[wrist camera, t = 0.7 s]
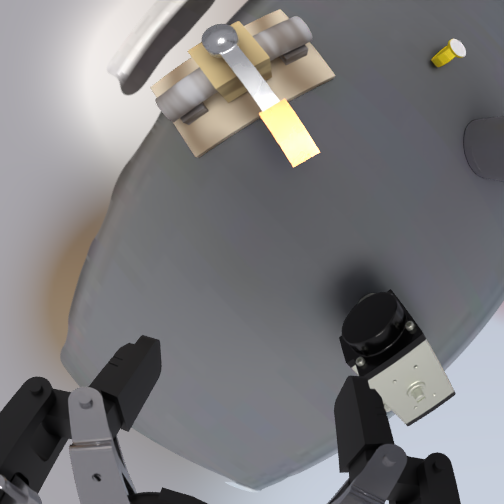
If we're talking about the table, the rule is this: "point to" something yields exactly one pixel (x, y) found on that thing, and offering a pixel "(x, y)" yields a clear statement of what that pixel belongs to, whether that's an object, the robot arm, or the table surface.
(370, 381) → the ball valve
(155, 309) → the table surface
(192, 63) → the valve rig
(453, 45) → the watch
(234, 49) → the lever
